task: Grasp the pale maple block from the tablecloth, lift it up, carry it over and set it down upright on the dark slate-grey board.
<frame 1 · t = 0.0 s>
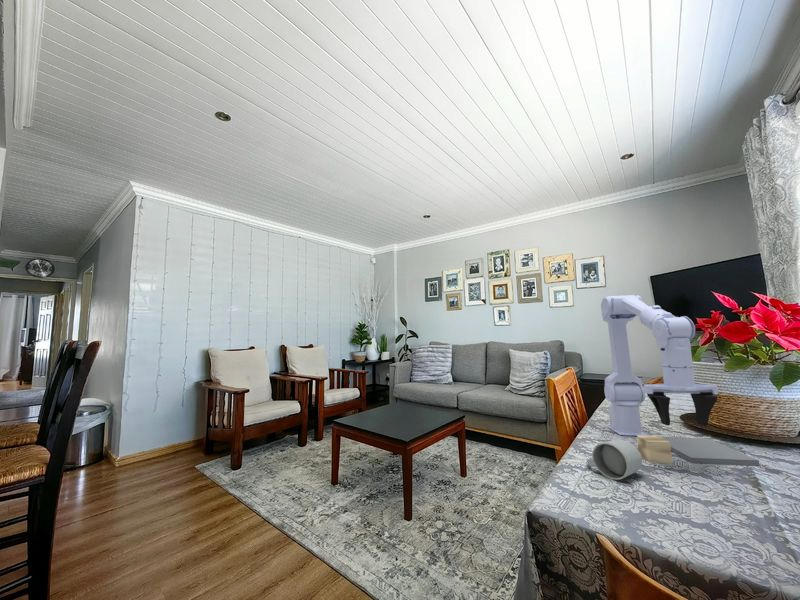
hand: (683, 424, 76), 10 cm above the table, tool pointing down, fingers open, 7 cm apart
slate board: (700, 451, 85), on the table
ceramic mug: (612, 473, 74), on the table
maple block: (655, 459, 82), on the table
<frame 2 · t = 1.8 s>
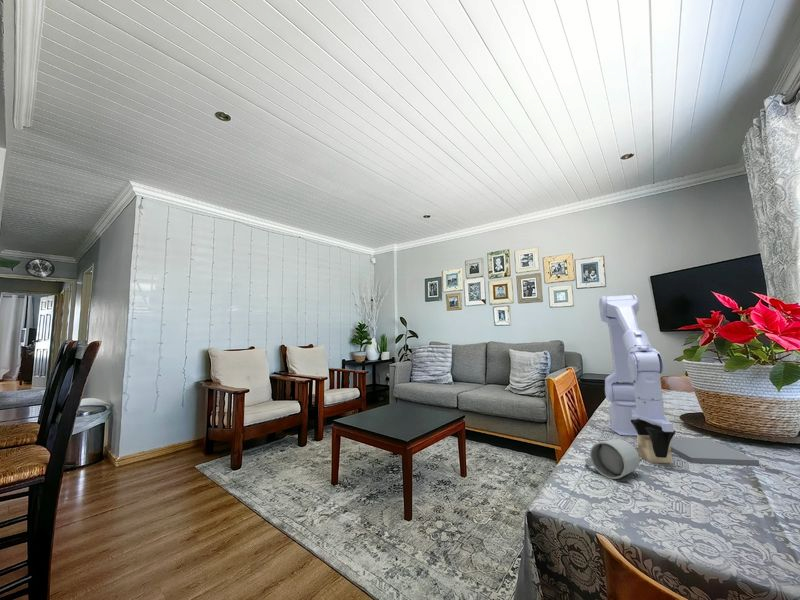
hand: (654, 452, 82), 1 cm above the table, tool pointing down, fingers closed on maple block, 5 cm apart
maple block: (655, 458, 82), on the table, touching gripper
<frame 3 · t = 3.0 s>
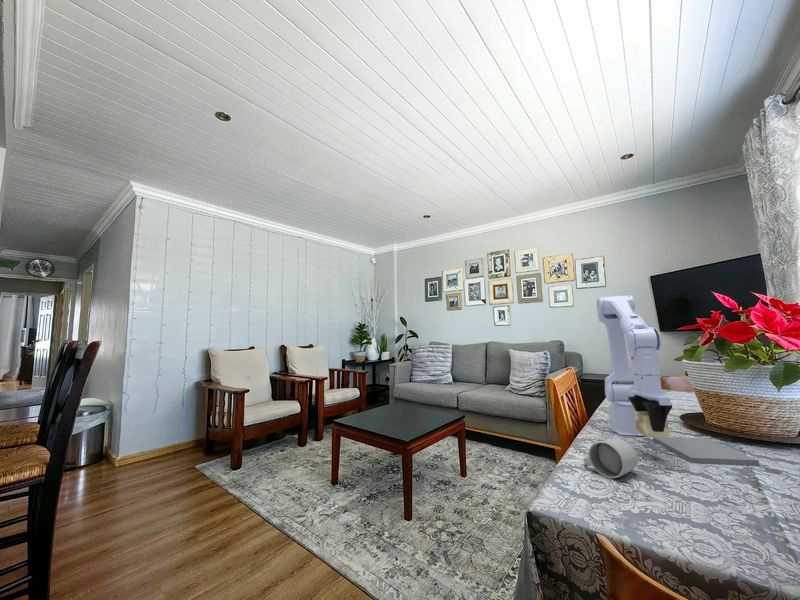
hand: (651, 428, 82), 8 cm above the table, tool pointing down, fingers closed on maple block, 5 cm apart
maple block: (652, 433, 82), point 6 cm above the table, touching gripper
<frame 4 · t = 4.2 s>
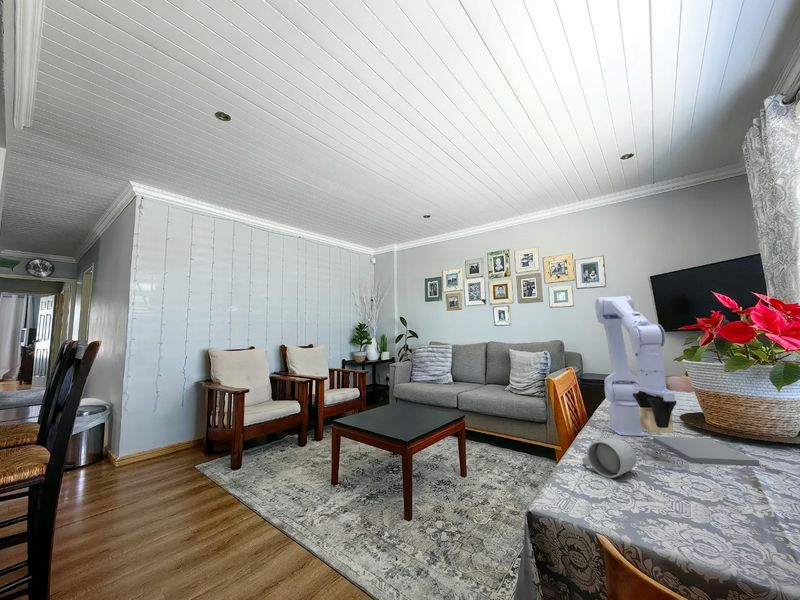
hand: (656, 424, 83), 8 cm above the table, tool pointing down, fingers closed on maple block, 5 cm apart
maple block: (656, 429, 83), point 7 cm above the table, touching gripper
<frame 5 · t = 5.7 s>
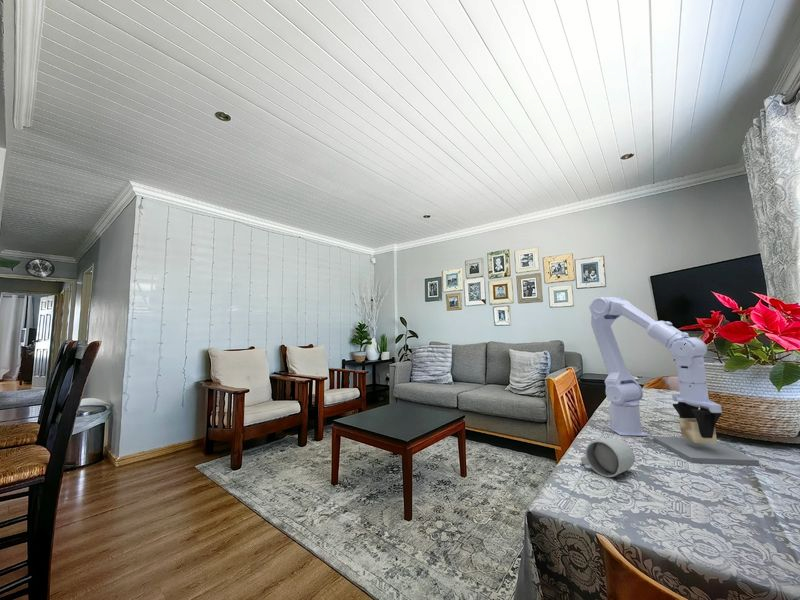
hand: (698, 434, 85), 5 cm above the table, tool pointing down, fingers closed on maple block, 5 cm apart
maple block: (698, 440, 85), point 3 cm above the table, touching gripper
when the fingers open (4 cm above the table, at t = 6.7 s): maple block drops 1 cm, resting on slate board.
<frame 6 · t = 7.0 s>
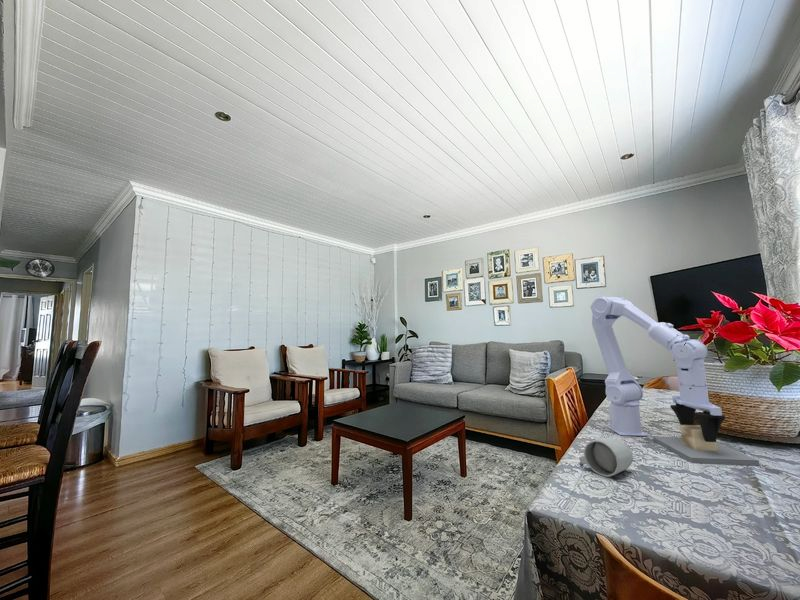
hand: (698, 436, 85), 4 cm above the table, tool pointing down, fingers open, 7 cm apart
maple block: (699, 447, 85), point 1 cm above the table, touching slate board
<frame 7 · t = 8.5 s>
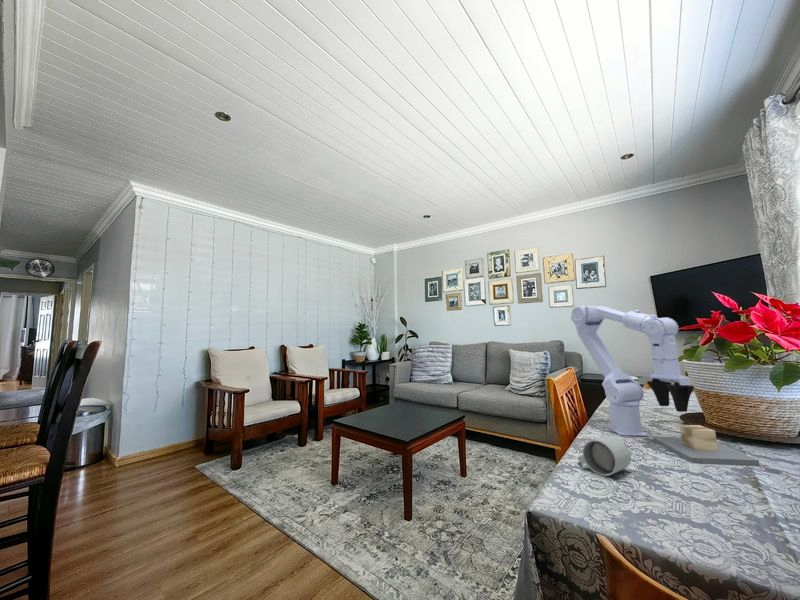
hand: (672, 408, 90), 10 cm above the table, tool pointing down, fingers open, 7 cm apart
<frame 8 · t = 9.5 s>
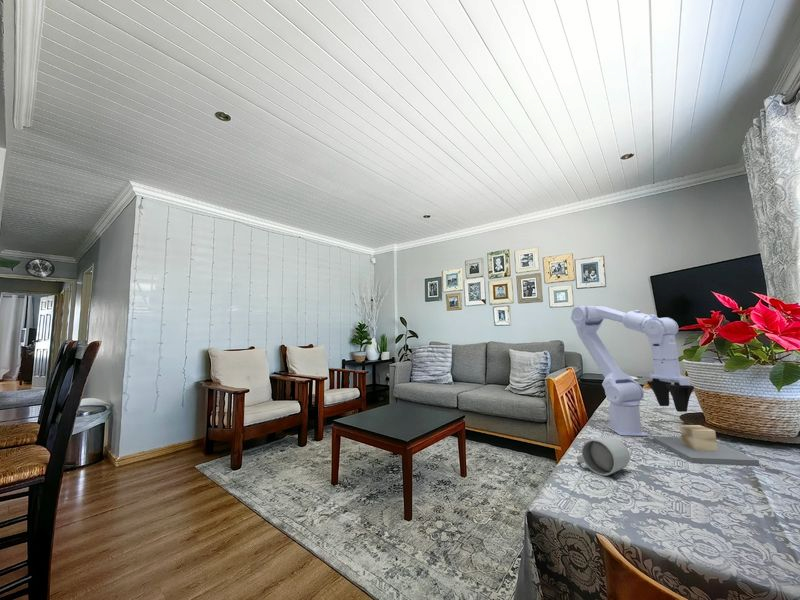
hand: (672, 408, 90), 10 cm above the table, tool pointing down, fingers open, 7 cm apart
at the end: maple block inside the target area on the slate board (0.2 cm from its centre), point 1.2 cm above the slate board's base; maple block tilted 0°; the gripper is holding nothing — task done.
